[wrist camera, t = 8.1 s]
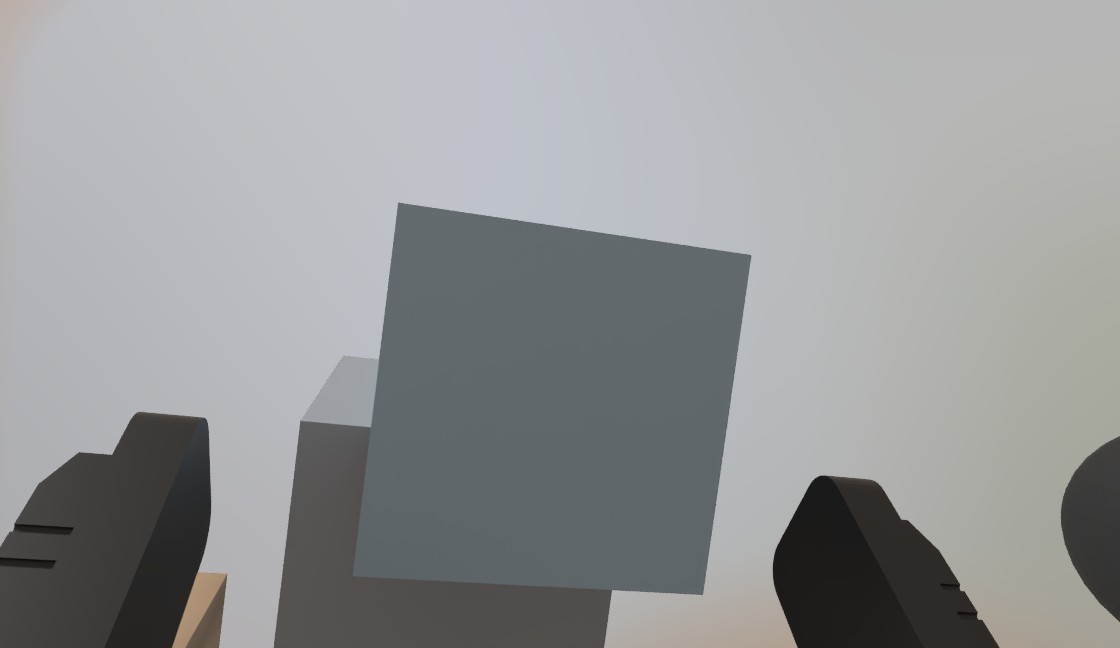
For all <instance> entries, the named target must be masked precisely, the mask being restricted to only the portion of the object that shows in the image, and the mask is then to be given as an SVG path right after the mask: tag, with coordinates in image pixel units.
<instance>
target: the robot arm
mask: <svg viewBox="0 0 1120 648" xmlns="http://www.w3.org/2000/svg"><path fill="white" fill-rule="evenodd" d="M210 517H211V486H210V457H209V430H208V423H207V420H206V419H205V418H201V417H190V416H179V415H167V414H156V413H146V412H138V413H136V414H135V415H134V416H133V418H132V419H131V420H130V422H129V424H128V426H127V428H126V430H125V431H124V434H123V436H122V437H121V439H120V441H119V443H118V445H117V447H116V449H115V450H114V452H113V454H112V455H106V454H92V453H80V452H79V453H78V454H77V455H75V456H74V457H73V458H71V459H70V460H69V461H68V462H66V463H65V464H64V465H62V466H61V467H60V468H59V469H57V470H56V471H55V472H53V473H52V474H51V475H50V476H49V477H47V478H46V479H45V480H43V481H42V482H41V483H39V485H38V486H37V488H36V489H35V491H34V493H33V494H32V496H31V497H30V499H29V501H28V503H27V504H26V506H25V507H24V509H23V511H22V512H21V514H20V516H19V517H18V519H17V520H16V522H15V527H14V530H13V532H9V534H8V535H7V537H6V539H5V540H4V542H3V543H2V545H1V547H0V648H172V647H173V644H174V641H175V638H176V635H177V632H178V629H179V626H180V623H181V620H182V617H183V614H184V611H185V608H186V605H187V602H188V599H189V596H190V593H191V590H192V587H193V584H194V581H195V578H196V576H197V573H198V570H199V567H200V563H201V561H202V557H203V554H204V551H205V546H206V542H207V537H208V531H209V525H210ZM1061 526H1062V531H1063V536H1064V541H1065V545H1066V547H1067V550H1068V553H1069V556H1070V558H1071V561H1072V563H1073V565H1074V567H1075V569H1076V570H1077V572H1078V574H1079V575H1080V577H1081V579H1082V580H1083V582H1084V584H1085V585H1086V586H1087V588H1088V589H1089V590H1090V591H1091V593H1092V594H1093V595H1094V596H1095V598H1096V599H1097V600H1098V601H1099V603H1100V604H1101V605H1102V606H1103V607H1104V608H1106V609H1107V610H1108V611H1109V612H1110V613H1111V614H1112V615H1113V616H1114V617H1115V618H1116V619H1117V620H1118V621H1119V622H1120V437H1117V438H1115V439H1113V440H1111V441H1109V442H1108V443H1106V444H1104V445H1102V446H1101V447H1100V448H1099V449H1097V450H1096V451H1095V452H1093V453H1092V454H1091V455H1090V456H1088V457H1087V458H1086V459H1085V460H1084V462H1083V463H1082V464H1081V465H1080V466H1079V468H1078V469H1077V470H1076V471H1075V473H1074V474H1073V477H1072V478H1071V480H1070V482H1069V484H1068V486H1067V488H1066V490H1065V494H1064V497H1063V501H1062V508H1061ZM773 579H774V586H775V590H776V593H777V596H778V598H779V601H780V603H781V606H782V609H783V611H784V614H785V616H786V619H787V621H788V624H789V627H790V629H791V631H792V634H793V637H794V639H795V642H796V644H797V647H798V648H999V646H998V645H997V643H996V641H995V640H994V638H993V637H992V635H991V633H990V632H989V630H988V629H987V627H986V625H985V624H984V622H983V620H978V618H977V613H978V612H977V611H976V609H975V608H974V606H973V604H972V603H971V601H970V600H969V598H968V596H967V595H966V593H965V592H964V591H960V588H959V587H960V584H959V582H958V580H957V579H956V577H955V576H954V574H953V572H952V571H951V569H950V567H949V566H948V564H947V563H946V561H945V559H944V558H943V556H942V555H941V553H940V552H939V550H938V549H937V548H936V547H935V546H933V544H932V543H931V542H930V541H929V540H927V539H926V538H925V537H924V536H923V535H922V534H921V533H920V532H919V531H918V530H917V529H916V528H915V527H914V526H913V525H912V524H911V523H910V522H909V521H908V520H901V519H900V517H899V515H898V513H897V512H896V510H895V508H894V507H893V505H892V503H891V502H890V500H889V499H888V497H887V495H886V493H885V492H884V490H883V489H882V487H881V486H880V485H879V484H878V483H876V482H875V481H873V480H867V479H857V478H846V477H834V476H819V477H817V478H815V479H814V480H813V481H812V482H811V484H810V486H809V487H808V489H807V491H806V493H805V495H804V497H803V499H802V501H801V502H800V504H799V506H798V508H797V510H796V512H795V514H794V516H793V518H792V519H791V521H790V523H789V525H788V527H787V529H786V531H785V532H784V534H783V536H782V538H781V540H780V542H779V544H778V546H777V548H776V551H775V555H774V561H773Z"/></svg>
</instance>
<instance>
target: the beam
mask: <svg viewBox="0 0 1120 648" xmlns="http://www.w3.org/2000/svg"><path fill="white" fill-rule="evenodd" d="M750 261H751V255H747V254H740V253H732V252H726V251H719V250H713V249H706V248H699V247H693V246H686V245H679V244H672V243H665V242H659V241H652V240H646V239H639V238H631V237H625V236H619V235H612V234H604V233H598V232H591V231H585V230H578V229H571V228H564V227H558V226H551V225H545V224H538V223H531V222H524V221H518V220H511V219H504V218H497V217H491V216H484V215H477V214H470V213H464V212H457V211H450V210H443V209H437V208H430V207H423V206H416V205H409V204H403V203H398V210H397V218H396V226H395V234H394V243H393V251H392V259H391V267H390V275H389V283H388V292H387V300H386V308H385V316H384V324H383V332H382V340H381V349H380V357H379V365H378V373H377V381H376V390H375V398H374V406H373V414H372V422H371V430H370V439H369V447H368V455H367V463H366V471H365V480H364V488H363V496H362V504H361V512H360V520H359V529H358V537H357V545H356V553H355V561H354V570H353V576H357V577H376V578H395V579H414V580H433V581H452V582H470V583H489V584H508V585H527V586H546V587H565V588H583V589H602V590H621V591H640V592H659V593H678V594H697V595H703V590H704V583H705V576H706V569H707V562H708V555H709V548H710V541H711V534H712V527H713V520H714V513H715V506H716V499H717V492H718V485H719V478H720V471H721V464H722V457H723V450H724V442H725V436H726V429H727V422H728V415H729V408H730V401H731V393H732V387H733V380H734V373H735V366H736V359H737V351H738V345H739V338H740V330H741V324H742V317H743V309H744V303H745V296H746V289H747V282H748V275H749V268H750Z"/></svg>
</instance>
